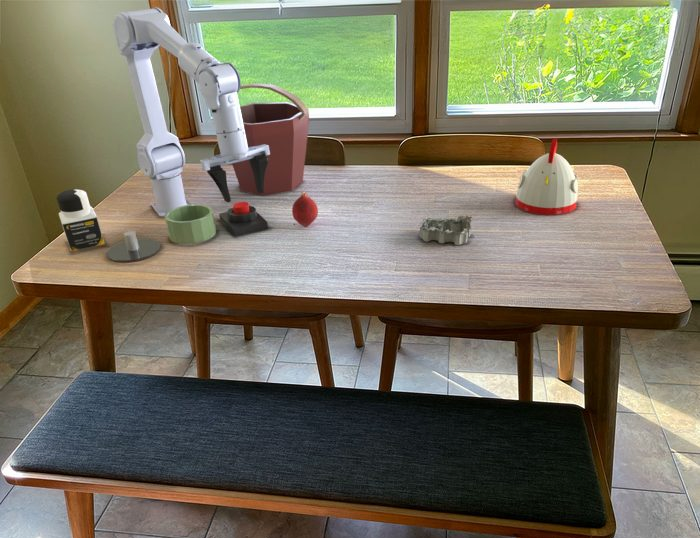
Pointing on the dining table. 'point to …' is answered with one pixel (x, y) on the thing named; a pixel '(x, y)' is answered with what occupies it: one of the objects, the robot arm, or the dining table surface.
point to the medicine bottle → (79, 220)
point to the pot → (190, 224)
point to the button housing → (243, 221)
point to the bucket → (275, 141)
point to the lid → (133, 248)
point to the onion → (304, 210)
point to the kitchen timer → (548, 185)
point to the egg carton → (446, 229)
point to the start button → (241, 208)
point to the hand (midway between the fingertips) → (244, 196)
